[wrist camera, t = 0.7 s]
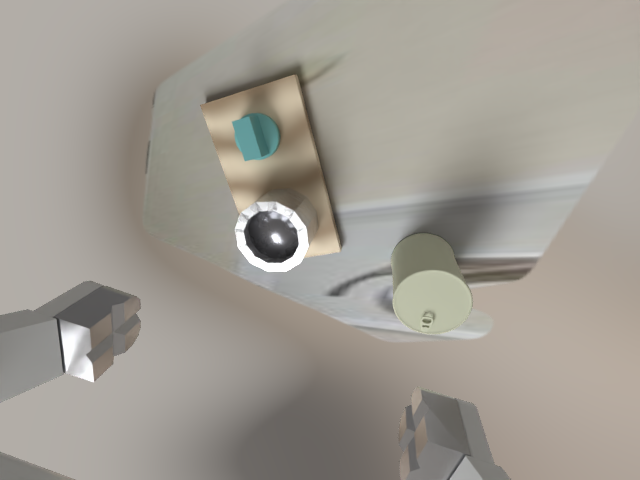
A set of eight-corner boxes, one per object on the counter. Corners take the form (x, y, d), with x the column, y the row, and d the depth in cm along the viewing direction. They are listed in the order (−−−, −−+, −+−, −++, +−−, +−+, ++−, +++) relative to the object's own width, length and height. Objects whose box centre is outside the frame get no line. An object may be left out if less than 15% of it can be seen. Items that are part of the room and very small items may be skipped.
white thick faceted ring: (268, 176, 47) (249, 188, 41) (328, 207, 47) (320, 224, 41) (246, 232, 51) (226, 250, 45) (302, 260, 51) (290, 283, 45)
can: (386, 282, 52) (386, 330, 41) (396, 228, 48) (399, 265, 37) (446, 292, 51) (463, 344, 40) (461, 237, 47) (484, 278, 36)
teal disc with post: (233, 119, 45) (217, 121, 41) (272, 107, 43) (260, 108, 39) (247, 162, 47) (233, 168, 43) (285, 152, 45) (275, 157, 41)
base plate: (205, 105, 46) (200, 105, 45) (297, 75, 43) (294, 74, 41) (260, 261, 55) (257, 265, 53) (341, 247, 51) (340, 251, 50)
